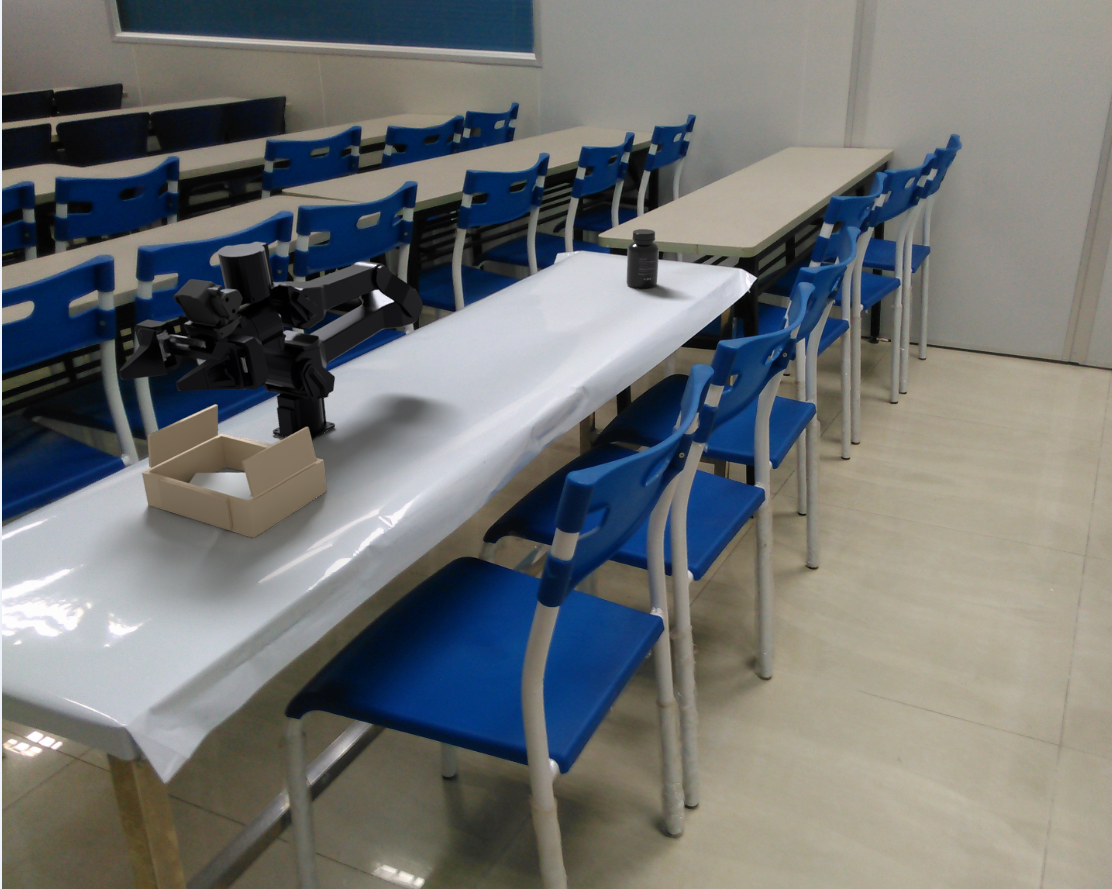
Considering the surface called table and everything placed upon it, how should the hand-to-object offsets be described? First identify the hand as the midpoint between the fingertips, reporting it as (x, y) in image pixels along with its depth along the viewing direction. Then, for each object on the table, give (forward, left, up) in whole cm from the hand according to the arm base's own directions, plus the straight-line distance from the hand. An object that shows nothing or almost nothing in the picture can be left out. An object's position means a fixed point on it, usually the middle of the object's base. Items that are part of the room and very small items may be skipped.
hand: (148, 381), depth 112 cm
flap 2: (-5, +14, -10) cm, 17 cm away
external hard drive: (-5, +6, -17) cm, 18 cm away
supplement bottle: (-122, +12, -17) cm, 124 cm away
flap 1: (-5, -2, -10) cm, 11 cm away
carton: (-5, +6, -17) cm, 18 cm away
